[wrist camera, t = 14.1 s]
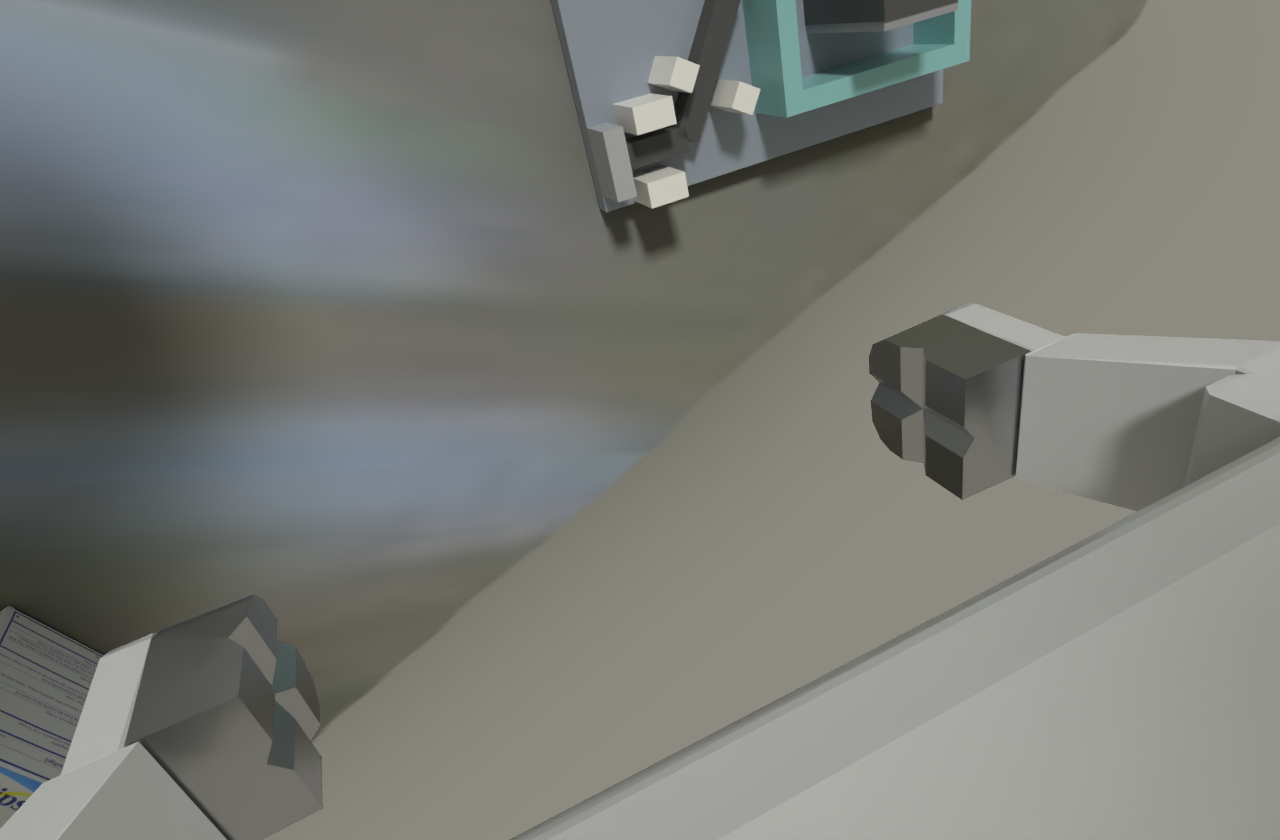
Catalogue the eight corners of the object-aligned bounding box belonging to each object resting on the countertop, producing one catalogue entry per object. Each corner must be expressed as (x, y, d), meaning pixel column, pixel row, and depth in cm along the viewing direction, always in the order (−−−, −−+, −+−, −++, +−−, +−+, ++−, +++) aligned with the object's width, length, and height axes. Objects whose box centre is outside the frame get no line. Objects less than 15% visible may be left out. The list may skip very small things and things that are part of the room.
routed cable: (592, 160, 36) (600, 163, 35) (714, -29, 34) (727, -32, 33) (645, 202, 38) (655, 206, 37) (764, 25, 36) (777, 24, 35)
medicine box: (-66, 659, 35) (-161, 817, 28) (11, 599, 35) (-63, 741, 28) (88, 730, 39) (40, 882, 32) (156, 676, 39) (123, 816, 32)
